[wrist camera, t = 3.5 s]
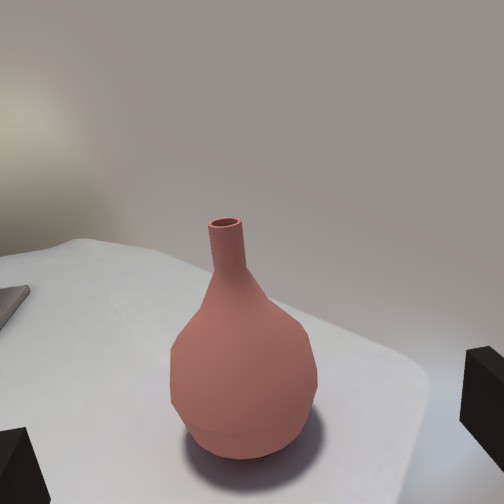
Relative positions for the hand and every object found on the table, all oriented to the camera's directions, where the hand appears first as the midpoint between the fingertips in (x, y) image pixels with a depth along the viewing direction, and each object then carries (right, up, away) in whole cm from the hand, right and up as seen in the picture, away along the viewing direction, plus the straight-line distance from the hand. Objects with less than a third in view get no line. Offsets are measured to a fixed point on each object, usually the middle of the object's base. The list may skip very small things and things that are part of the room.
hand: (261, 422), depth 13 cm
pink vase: (0, -5, +11) cm, 12 cm away
